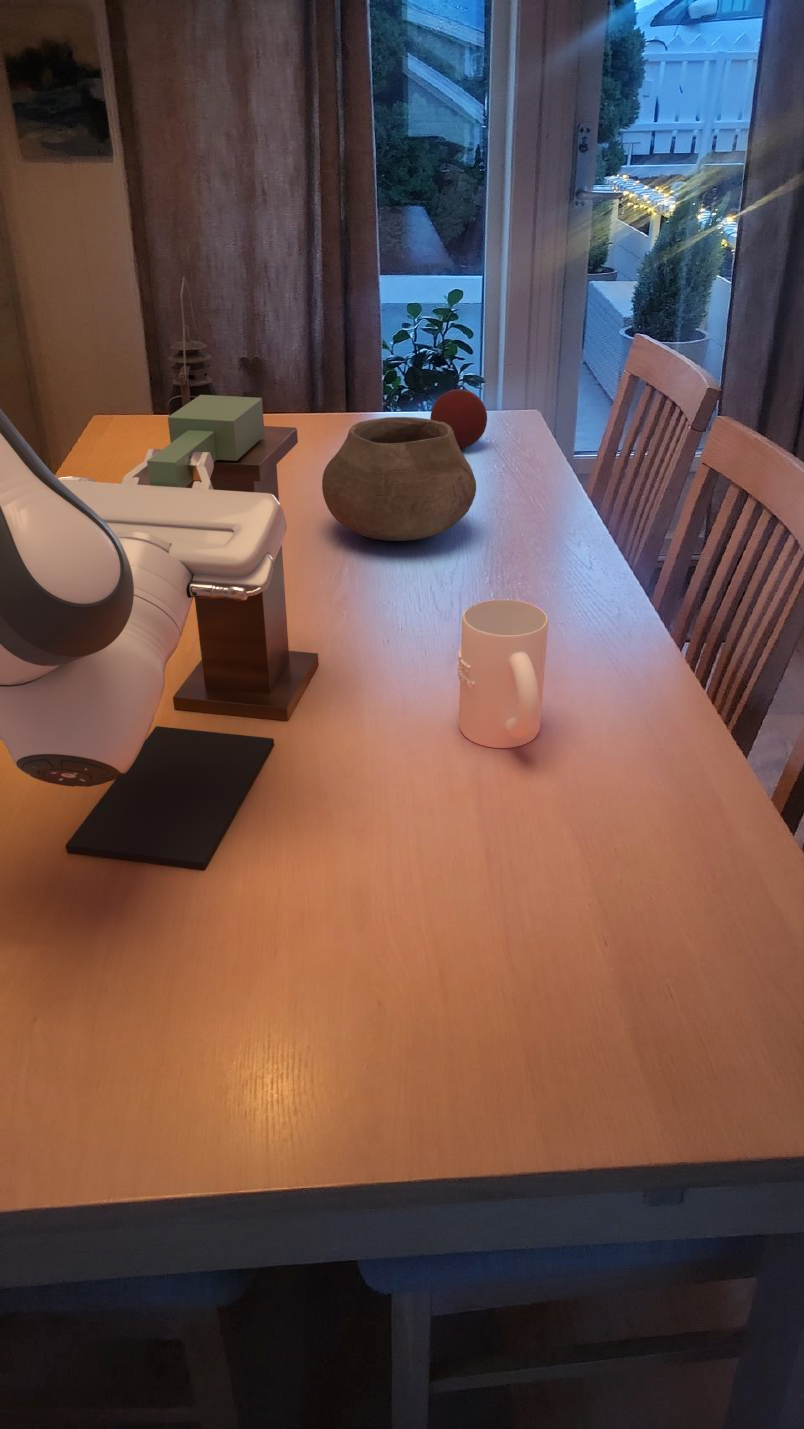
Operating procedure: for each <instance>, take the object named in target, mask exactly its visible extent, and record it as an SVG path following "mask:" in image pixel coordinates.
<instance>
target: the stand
mask: <svg viewBox="0 0 804 1429" xmlns="http://www.w3.org/2000/svg"><path fill="white" fill-rule="evenodd" d="M264 434H265V435H264V436H263V437H262V438H261V439H260V440H259V441H258V442H257V443H256V444H255V445H254V446H252V447H251V448H250V449H249V450H248V451H247V452H246V453H245V454H244V455H243V456H241V457H240V458H239V459H238V460H237V461H232V460H216V461H215V462H214V468H213V471H212V474H211V477H210V481H211V484H212V487H213V489H214V490H225V491H240V492H256V493H269V494H272V495H274V496H275V498H276V499H277V501H278V502H279V503H280V494H279V482H278V479H279V478H278V467H277V466H278V464H279V463H280V461H281V460H283V458H284V457H286V456H287V455H288V453H289V452H290V451H292V449H293V448H295V446H296V445H297V444H298V443H299V439H298V428H297V427H294V426H293V427H290V426H273V425H264ZM195 481H198V480H193V481H192V482H191V483H189V484H188V485H187V486H186V487H185V488H192V486H193V483H194V482H195ZM200 482H201V481H200ZM283 556H284V555H283V544H282V545H281V547H280V550H279V552H278V554H277V556H276V559H275V561H274V569H273V573H272V576H271V580H270V584H269V586H268V587H267V589H266V590H265V591H262V592H260V593H259V594H256V595H254V596H248V598H247V599H246V600H243V601H234V600H229V599H225V598H198V597H194V603H195V604H194V605H195V612H196V614H195V615H196V621H197V630H198V639H199V647H200V657H201V660H200V661H199V662H198V663H197V665H196V666H195V668H194V669H193V670H192V671H191V673H190V674H189V675H188V677H187V678H186V679H185V681H184V682H183V683H182V684H181V686H180V687H179V689H178V690H177V691H176V692H175V693H174V695H173V696H172V701H173V709H174V710H176V711H187V712H195V713H205V714H216V715H224V716H225V715H226V716H234V717H246V718H253V719H254V718H255V719H264V720H265V719H266V720H275V721H285V722H288V721H289V720H290V718H291V716H292V714H293V712H294V710H295V709H296V707H297V706H298V703H299V701H300V699H301V698H302V696H303V695H304V692H305V691H306V689H307V687H308V685H309V684H310V682H311V680H312V678H313V676H314V674H315V672H316V671H317V669H318V667H319V664H320V663H319V653H318V652H309V651H308V652H307V651H298V650H290V646H289V633H288V619H287V618H288V616H287V604H286V602H287V601H286V588H285V572H284V560H283V559H284V558H283ZM248 591H251V590H248Z"/></svg>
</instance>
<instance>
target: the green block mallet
mask: <svg viewBox="0 0 804 1429" xmlns="http://www.w3.org/2000/svg"><path fill="white" fill-rule="evenodd" d="M167 423H168V432H169V433H168V434H169V439H170V440H169V442H170V443H169V444H168V445H166V446H165V447H164V448H162V449H160V450H161V451H160V452H158V453H157V454H155V455H154V456H153V457H151V458H150V459H149V460H147V466H148V473H149V481H150V486H165V487H180V488H185V487H186V486H187V485H188V484H189V483H191V482H192V481H193V479H192V476H191V472H190V471H189V468H188V466H187V464H188V462H189V459H190V458H191V453H192V452H209V453H210V454H211V457H212V459H213V463H214V462H215V461H216V460H232V461H237V460H238V459H239V458H240V457H241V456H243V455H244V454H245V453H246V452H247V451H248V450H249V449H250V448H251V447H252V446H254V445H255V444H256V443H257V442H258V441H259V440H260V439H261V438H262V437H263V436H264V435H265V434H264V426H265V421H264V406H263V398H262V397H251V396H234V395H233V396H232V395H219V396H215V395H200V396H198V397H197V398H195V399H194V400H192V401H191V402H189V403H188V404H186V405H185V406H183V407H182V408H180V409H179V410H178V411H176V412H175V413H173V414H172V415H170V416H169V415H168V417H167Z"/></svg>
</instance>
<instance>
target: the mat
mask: <svg viewBox="0 0 804 1429" xmlns="http://www.w3.org/2000/svg"><path fill="white" fill-rule="evenodd" d="M274 746H275V739H274V738H273V737H264V736H254V735H246V734H245V735H244V734H235V733H224V732H216V731H205V730H198V729H197V730H196V729H187V728H178V727H177V728H176V727H168V726H159V725H156V726H155V727H154V728H153V729H152V731H151V732H150V733H149V734H148V735H147V737H146V739H145V742H144V744H143V746H142V748H141V750H140V752H139V754H138V756H137V758H136V759H135V761H134V763H133V764H132V766H131V767H130V769H129V770H128V771H127V772H126V773H125V774H124V775H122V776H120V777H119V778H117V779H114V780H113V782H112V783H111V785H110V786H109V787H108V788H107V790H106V791H105V792H104V794H103V795H102V796H101V797H100V799H99V800H98V801H97V803H96V805H95V806H94V807H93V809H92V810H91V811H90V812H89V814H88V815H87V816H86V818H85V819H83V821H82V823H81V824H80V826H78V828H77V829H76V831H75V832H74V833H73V835H72V836H71V837H70V838H69V840H68V841H67V843H66V844H65V849H66V852H67V854H68V853H69V854H77V855H84V856H91V857H93V856H94V857H100V858H109V859H115V860H116V859H117V860H122V861H130V862H141V863H147V864H155V865H161V866H168V867H169V866H170V867H177V868H185V869H193V870H202V871H206V869H207V867H208V865H209V863H210V862H211V860H212V858H213V856H214V854H215V853H216V851H217V850H218V847H219V845H220V844H221V842H222V841H223V838H224V836H225V834H226V833H227V831H228V829H229V827H230V826H231V824H232V822H233V820H234V818H235V817H236V815H237V812H238V811H239V809H240V808H241V806H242V804H243V802H244V801H245V798H246V797H247V795H248V793H249V791H250V789H251V788H252V786H253V784H254V782H255V781H256V778H257V777H258V775H259V773H260V771H261V770H262V768H263V766H264V764H265V763H266V761H267V759H268V757H269V755H270V754H271V752H272V750H273V748H274Z"/></svg>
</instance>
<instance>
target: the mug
mask: <svg viewBox="0 0 804 1429" xmlns="http://www.w3.org/2000/svg"><path fill="white" fill-rule="evenodd" d="M548 628H549V618H548V616H547V614H546V613H545V611H543V609H541V608H540V607H538V606H536V605H534V604H532V603H529V602H526V601H521V600H515V599H489V600H484V601H480V602H477V603H475V604H472V605H471V606H469V607H468V608H466V610H465V611H464V612H463V615H462V617H461V640H460V642H461V644H460V648H459V649H458V655H457V656H458V658H457V662H458V664H457V677H458V680H459V703H458V727H459V730H460V732H461V734H462V735H463V736H464V737H465V738H466V739H468V740H469V741H471V742H472V743H474V744H477V745H480V746H482V747H486V748H493V749H494V748H495V749H510V748H511V749H513V748H517V747H521V746H524V745H527V744H528V743H530V742H532V741H533V740H534V739H536V737H537V735H538V734H539V732H540V730H541V720H542V707H543V706H542V705H543V695H544V694H543V693H544V682H545V681H544V680H545V670H546V657H547V656H546V655H547V644H548V631H549V629H548Z"/></svg>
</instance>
